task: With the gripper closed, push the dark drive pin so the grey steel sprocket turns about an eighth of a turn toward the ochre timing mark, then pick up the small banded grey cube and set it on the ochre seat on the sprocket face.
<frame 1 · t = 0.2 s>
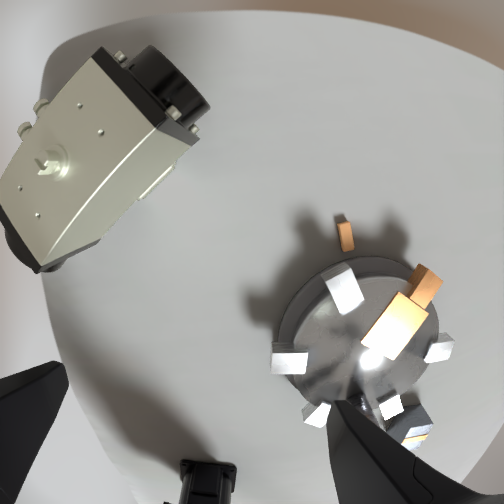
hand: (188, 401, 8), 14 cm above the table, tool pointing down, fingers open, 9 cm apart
sprocket: (378, 367, 18), point 5 cm above the table, hinge at 0.0°
banded grey cube: (403, 418, 26), on the table
plinth: (359, 335, 23), on the table
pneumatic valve: (143, 162, 20), on the table
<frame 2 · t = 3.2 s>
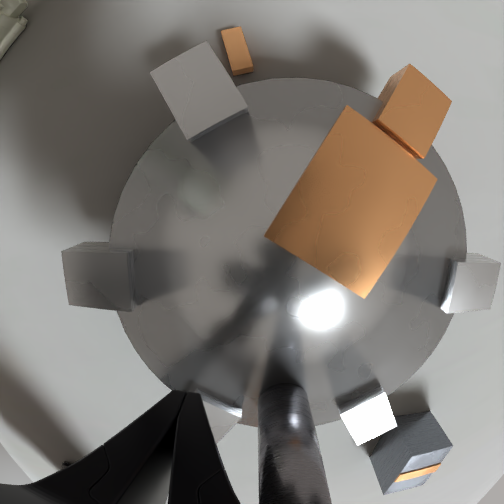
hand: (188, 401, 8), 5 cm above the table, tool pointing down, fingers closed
sprocket: (314, 304, 7), point 5 cm above the table, hinge at 0.0°, touching gripper
banded grey cube: (399, 434, 15), on the table
plinth: (291, 257, 12), on the table
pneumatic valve: (4, 36, 9), on the table
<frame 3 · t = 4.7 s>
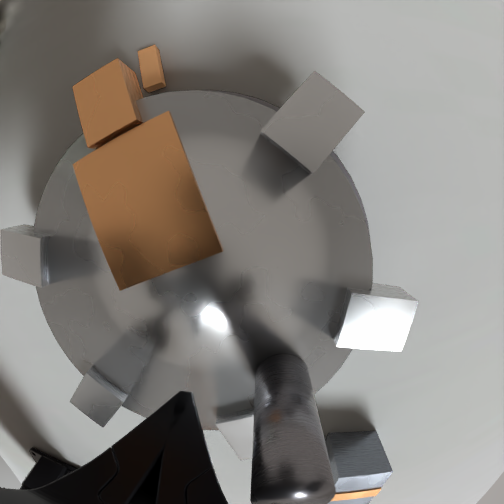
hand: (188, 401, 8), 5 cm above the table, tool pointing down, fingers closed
sprocket: (162, 307, 7), point 5 cm above the table, hinge at 53.4°, touching gripper
banded grey cube: (342, 452, 14), on the table
plinth: (198, 263, 12), on the table
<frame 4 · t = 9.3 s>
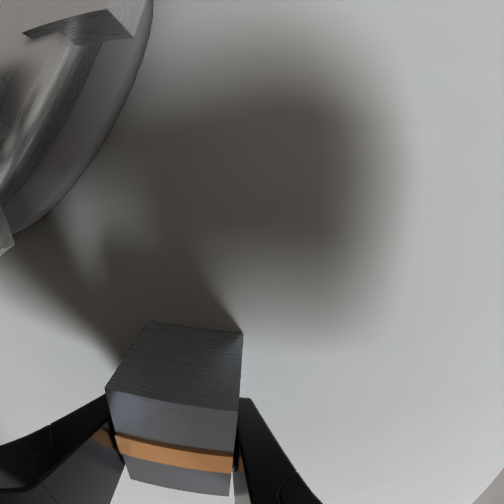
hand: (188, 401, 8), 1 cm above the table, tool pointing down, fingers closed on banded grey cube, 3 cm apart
banded grey cube: (194, 378, 9), on the table, touching gripper
plinth: (3, 72, 7), on the table
when the fingers open (5 cm above the table, at t = 12.8 s): banded grey cube stays where it is, resting on sprocket.
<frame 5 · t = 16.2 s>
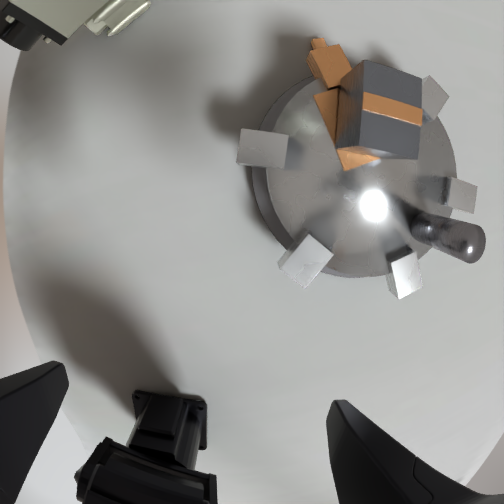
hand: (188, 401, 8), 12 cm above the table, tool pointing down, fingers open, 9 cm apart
sprocket: (386, 170, 14), point 5 cm above the table, hinge at 53.4°, touching banded grey cube
banded grey cube: (364, 118, 14), point 4 cm above the table, touching sprocket
plinth: (356, 172, 18), on the table
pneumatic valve: (121, 12, 15), on the table
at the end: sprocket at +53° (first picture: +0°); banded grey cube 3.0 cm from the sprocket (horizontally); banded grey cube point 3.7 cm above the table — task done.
